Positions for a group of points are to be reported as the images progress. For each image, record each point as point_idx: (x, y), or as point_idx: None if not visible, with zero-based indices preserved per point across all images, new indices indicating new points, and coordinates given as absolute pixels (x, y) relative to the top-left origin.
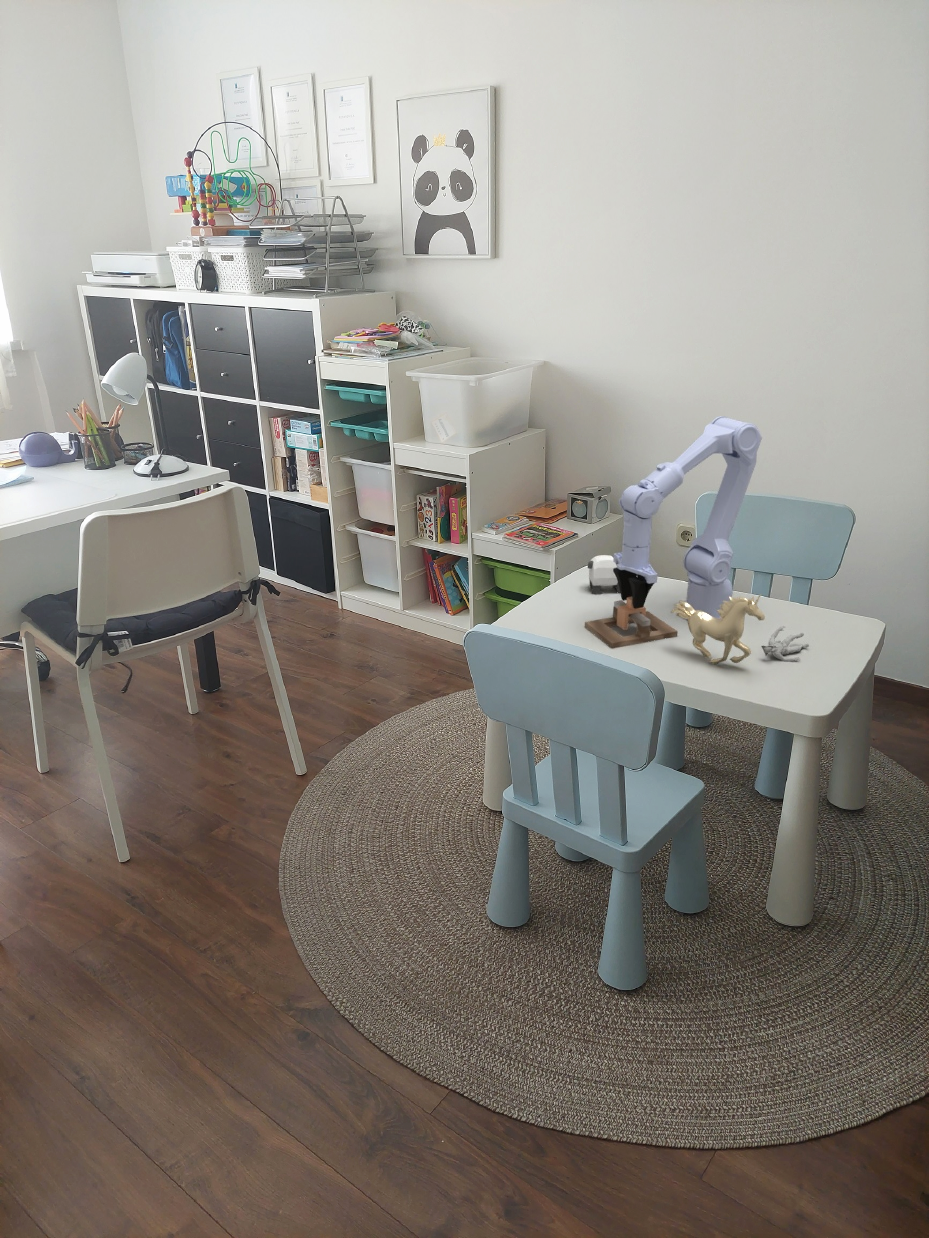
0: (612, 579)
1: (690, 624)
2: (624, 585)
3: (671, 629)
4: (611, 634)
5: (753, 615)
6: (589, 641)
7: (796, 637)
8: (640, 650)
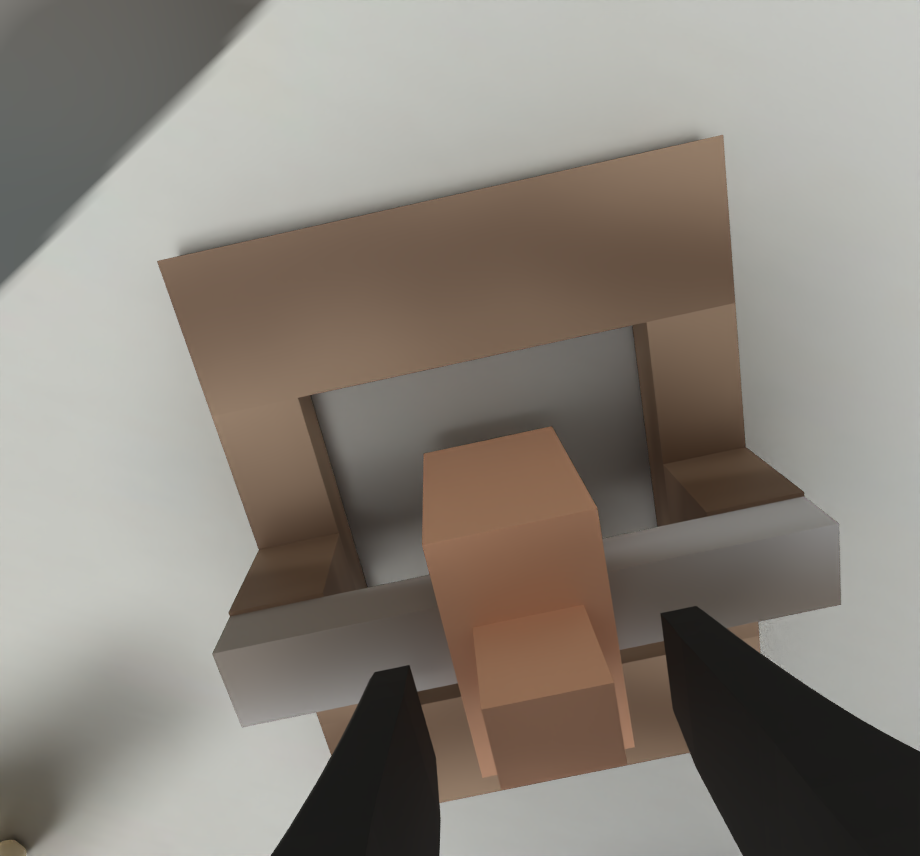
0: None
1: None
2: (779, 799)
3: None
4: (363, 316)
5: None
6: (361, 82)
7: None
8: (130, 483)
